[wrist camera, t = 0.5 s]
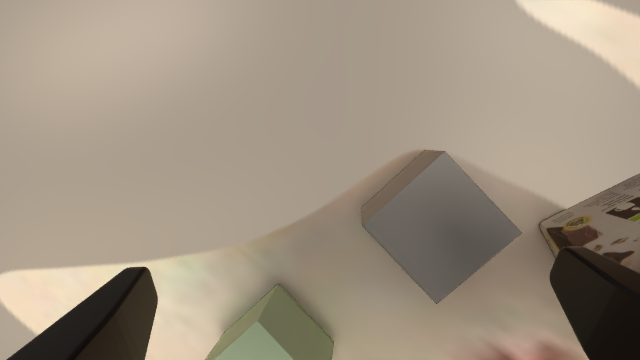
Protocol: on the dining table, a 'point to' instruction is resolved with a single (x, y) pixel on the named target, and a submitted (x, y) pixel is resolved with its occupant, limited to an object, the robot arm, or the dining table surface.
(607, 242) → the coffee box
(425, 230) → the gray cube
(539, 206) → the dining table surface
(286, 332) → the sage cube
